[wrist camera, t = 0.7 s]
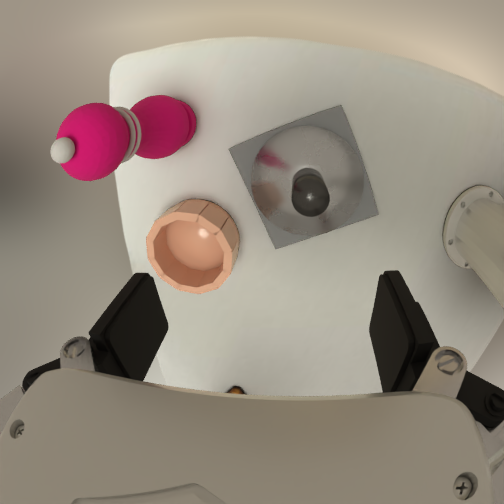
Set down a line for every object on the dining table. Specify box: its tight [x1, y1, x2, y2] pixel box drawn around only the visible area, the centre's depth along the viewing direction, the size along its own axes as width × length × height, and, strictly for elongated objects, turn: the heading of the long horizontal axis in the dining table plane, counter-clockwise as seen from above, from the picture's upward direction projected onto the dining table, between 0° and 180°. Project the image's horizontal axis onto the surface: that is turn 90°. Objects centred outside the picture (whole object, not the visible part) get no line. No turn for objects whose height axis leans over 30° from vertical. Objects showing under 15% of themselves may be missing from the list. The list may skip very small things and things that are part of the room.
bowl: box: [146, 199, 240, 294], centre depth 36 cm, size 11×11×5 cm
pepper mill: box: [51, 95, 196, 181], centre depth 22 cm, size 7×7×20 cm
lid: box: [251, 126, 364, 236], centre depth 29 cm, size 13×13×7 cm
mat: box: [229, 105, 379, 249], centre depth 32 cm, size 14×14×1 cm
